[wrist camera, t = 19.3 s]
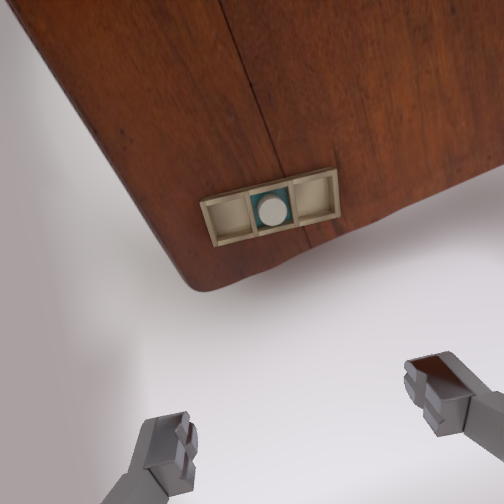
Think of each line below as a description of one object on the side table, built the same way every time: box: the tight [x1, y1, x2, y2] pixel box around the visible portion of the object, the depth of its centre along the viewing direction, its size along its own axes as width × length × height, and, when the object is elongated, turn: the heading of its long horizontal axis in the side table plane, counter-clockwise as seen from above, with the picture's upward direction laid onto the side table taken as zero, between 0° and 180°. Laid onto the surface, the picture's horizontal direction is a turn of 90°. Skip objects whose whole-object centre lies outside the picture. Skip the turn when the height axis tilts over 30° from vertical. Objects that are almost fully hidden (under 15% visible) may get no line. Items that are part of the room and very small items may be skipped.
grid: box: [200, 167, 341, 247], centre depth 35 cm, size 18×6×2 cm, turn 103°
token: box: [257, 194, 287, 226], centre depth 34 cm, size 4×4×3 cm
